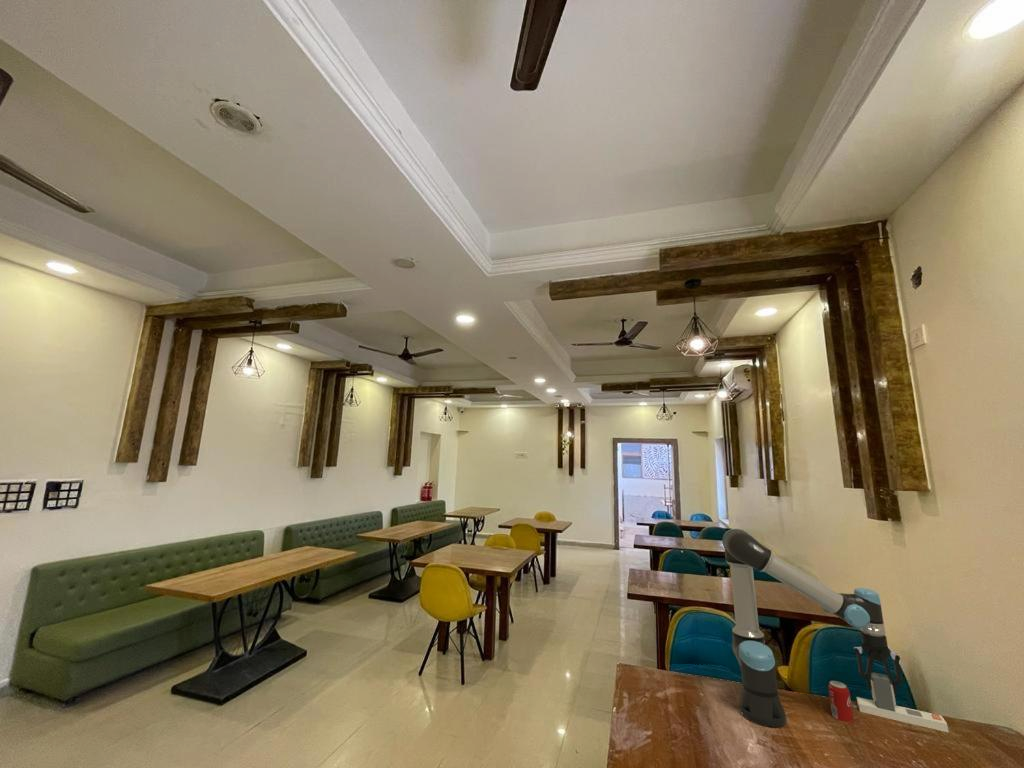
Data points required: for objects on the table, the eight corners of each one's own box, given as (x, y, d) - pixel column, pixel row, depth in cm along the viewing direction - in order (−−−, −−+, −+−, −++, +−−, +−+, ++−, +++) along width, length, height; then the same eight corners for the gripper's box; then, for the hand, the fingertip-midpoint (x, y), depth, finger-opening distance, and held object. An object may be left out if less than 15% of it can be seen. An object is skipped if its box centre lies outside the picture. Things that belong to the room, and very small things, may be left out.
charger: (879, 715, 154) (872, 676, 157) (876, 709, 158) (870, 671, 161) (896, 719, 152) (889, 680, 154) (893, 712, 156) (887, 674, 158)
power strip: (850, 712, 158) (848, 699, 159) (848, 704, 163) (846, 692, 164) (949, 735, 144) (946, 722, 145) (943, 726, 149) (941, 713, 150)
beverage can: (858, 726, 149) (852, 689, 152) (838, 724, 150) (832, 687, 153) (847, 716, 155) (842, 680, 158) (828, 714, 156) (823, 679, 159)
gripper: (845, 631, 162) (855, 699, 158) (906, 641, 153) (919, 713, 148) (842, 625, 169) (852, 690, 164) (901, 634, 159) (913, 703, 154)
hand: (884, 701), depth 156 cm, fingers closed on charger, 5 cm apart
